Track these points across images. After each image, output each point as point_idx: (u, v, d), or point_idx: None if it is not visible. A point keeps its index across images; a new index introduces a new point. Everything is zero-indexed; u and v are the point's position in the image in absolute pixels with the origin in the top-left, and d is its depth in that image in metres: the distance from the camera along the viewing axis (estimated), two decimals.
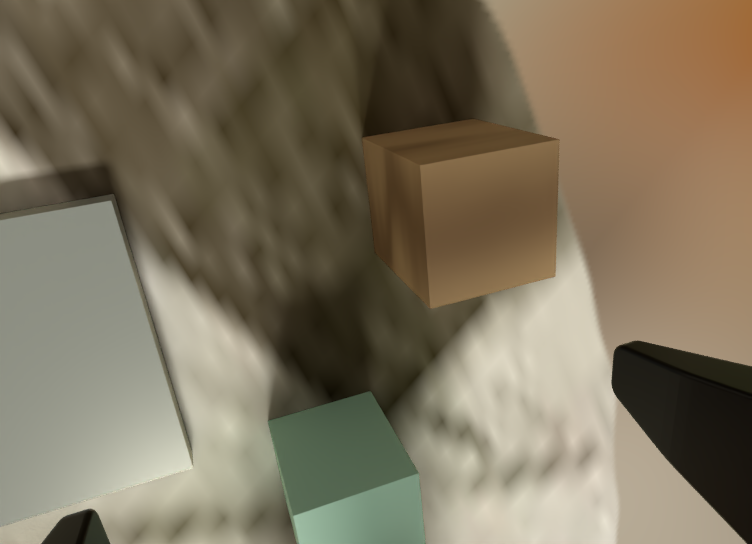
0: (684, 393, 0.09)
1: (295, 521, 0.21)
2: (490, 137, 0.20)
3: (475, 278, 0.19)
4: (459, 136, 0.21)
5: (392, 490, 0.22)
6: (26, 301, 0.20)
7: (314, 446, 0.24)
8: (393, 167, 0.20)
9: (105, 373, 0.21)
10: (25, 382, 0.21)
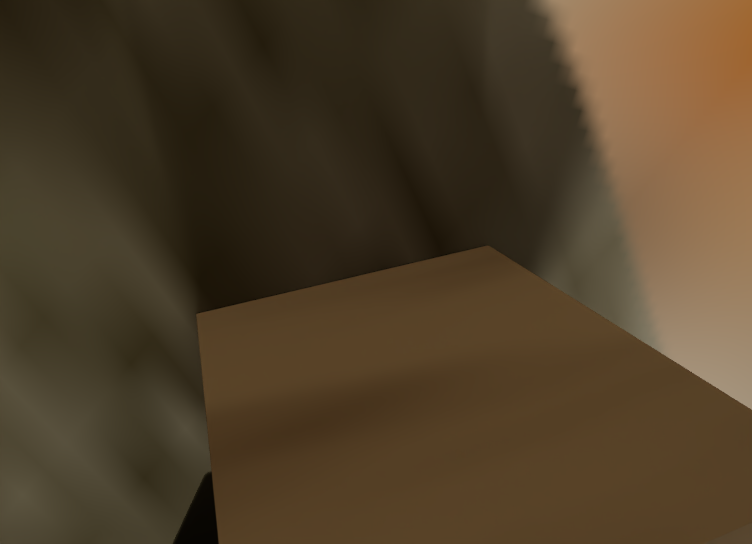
0: None
1: None
2: (556, 390, 0.06)
3: None
4: (453, 360, 0.07)
5: None
6: None
7: None
8: None
9: None
10: None
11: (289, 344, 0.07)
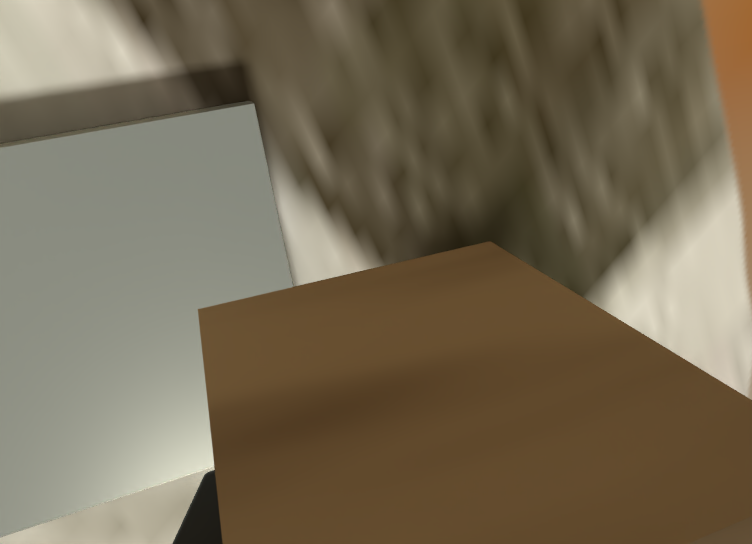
0: None
1: None
2: (559, 383, 0.06)
3: None
4: (456, 354, 0.07)
5: None
6: (154, 227, 0.16)
7: None
8: None
9: None
10: (149, 326, 0.17)
11: (291, 339, 0.07)
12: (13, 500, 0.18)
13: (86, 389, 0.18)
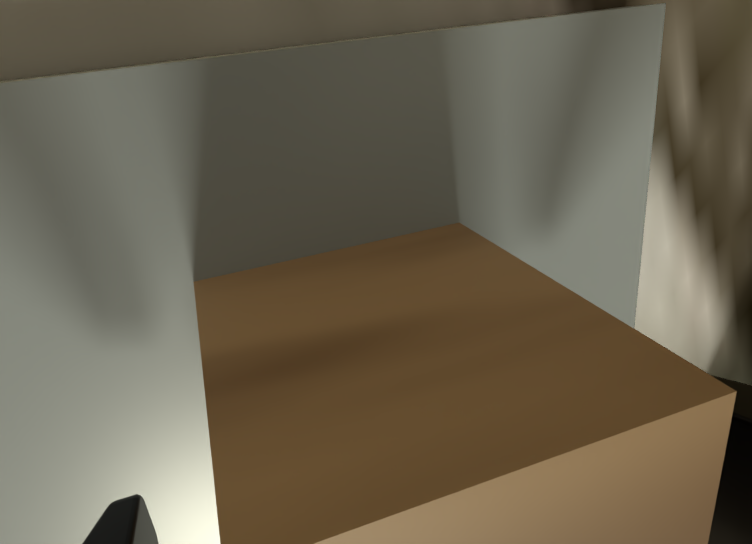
0: None
1: None
2: (502, 334, 0.07)
3: None
4: (417, 314, 0.08)
5: None
6: (498, 190, 0.11)
7: None
8: None
9: None
10: None
11: (275, 304, 0.08)
12: None
13: None
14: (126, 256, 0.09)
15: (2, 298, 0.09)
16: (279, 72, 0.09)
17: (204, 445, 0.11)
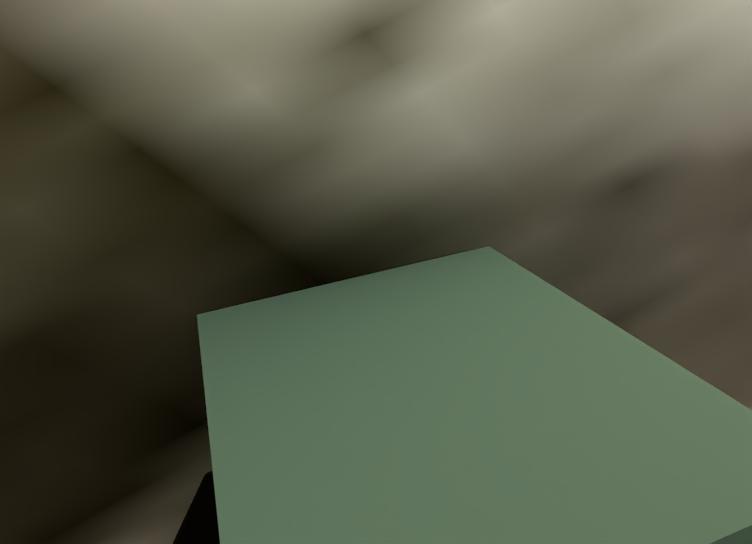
0: None
1: None
2: None
3: None
4: None
5: None
6: None
7: None
8: None
9: None
10: None
11: None
12: None
13: None
14: None
15: None
16: None
17: None
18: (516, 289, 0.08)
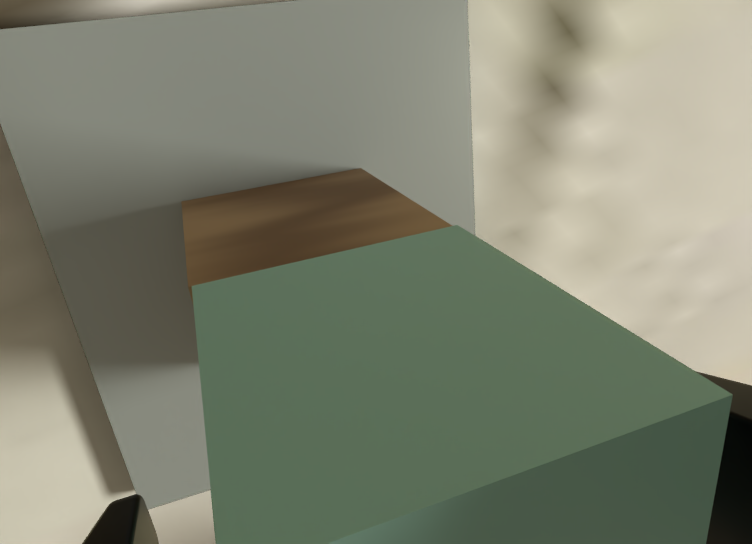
0: None
1: None
2: None
3: None
4: None
5: None
6: (153, 172, 0.14)
7: None
8: None
9: (279, 88, 0.15)
10: None
11: None
12: None
13: None
14: None
15: None
16: (89, 328, 0.15)
17: None
18: (476, 259, 0.09)
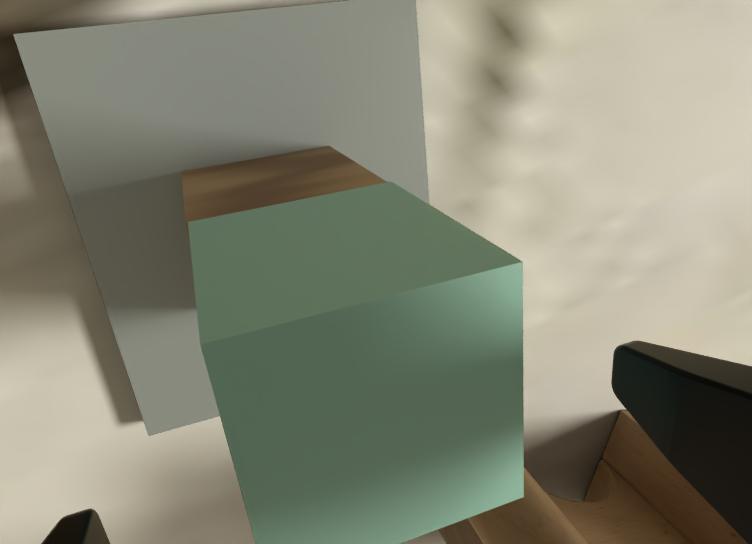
0: (684, 393, 0.09)
1: None
2: None
3: None
4: None
5: (246, 404, 0.08)
6: (158, 147, 0.18)
7: None
8: None
9: (260, 79, 0.18)
10: None
11: None
12: None
13: None
14: None
15: None
16: (106, 276, 0.19)
17: None
18: (396, 201, 0.13)
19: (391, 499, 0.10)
